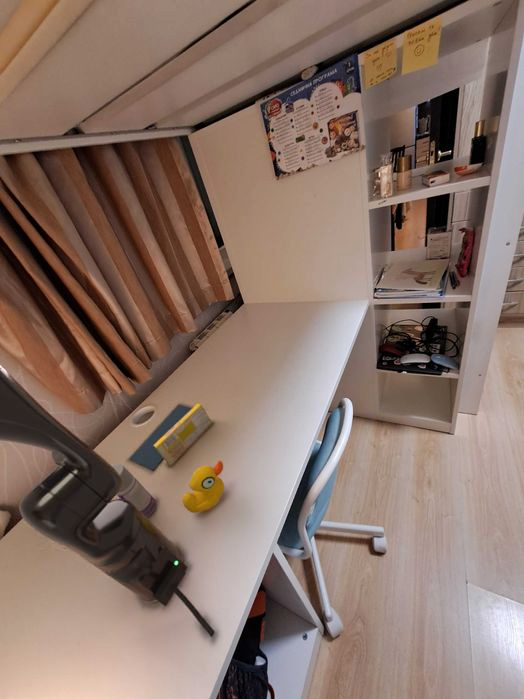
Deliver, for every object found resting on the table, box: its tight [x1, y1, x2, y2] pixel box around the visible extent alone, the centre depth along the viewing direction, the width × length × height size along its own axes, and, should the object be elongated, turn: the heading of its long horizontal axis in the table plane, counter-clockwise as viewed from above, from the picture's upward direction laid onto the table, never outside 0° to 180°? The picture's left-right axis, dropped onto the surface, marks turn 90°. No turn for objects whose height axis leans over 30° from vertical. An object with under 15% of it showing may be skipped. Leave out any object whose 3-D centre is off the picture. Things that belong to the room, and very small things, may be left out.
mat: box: [128, 404, 193, 472], centre depth 88 cm, size 11×22×1 cm, turn 150°
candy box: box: [154, 402, 213, 467], centre depth 81 cm, size 16×2×8 cm, turn 141°
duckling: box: [182, 460, 225, 514], centre depth 64 cm, size 11×5×10 cm, turn 124°
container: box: [111, 462, 157, 518], centre depth 66 cm, size 5×5×15 cm
